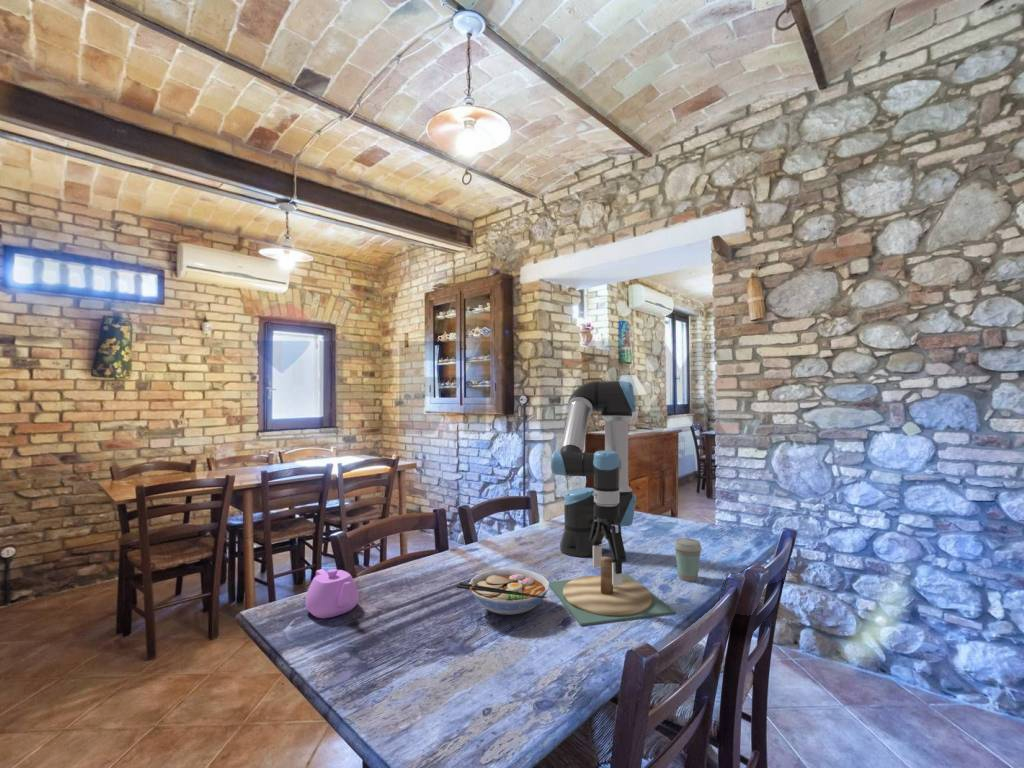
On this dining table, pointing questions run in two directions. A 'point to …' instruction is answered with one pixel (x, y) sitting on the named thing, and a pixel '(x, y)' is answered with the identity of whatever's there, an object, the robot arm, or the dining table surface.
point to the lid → (607, 594)
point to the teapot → (331, 593)
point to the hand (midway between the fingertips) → (606, 575)
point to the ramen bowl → (508, 590)
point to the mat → (588, 618)
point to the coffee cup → (687, 558)
